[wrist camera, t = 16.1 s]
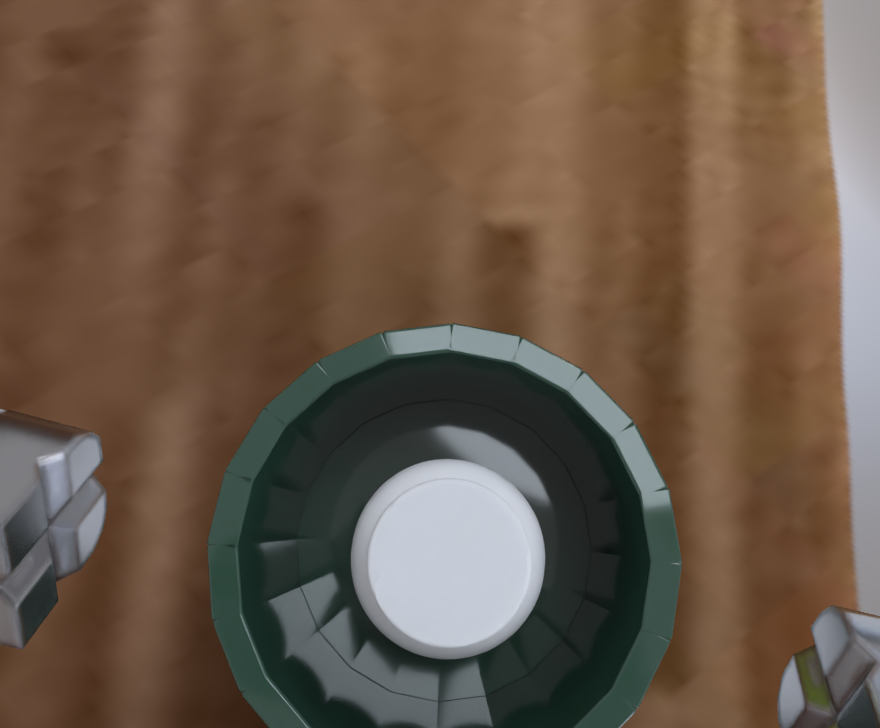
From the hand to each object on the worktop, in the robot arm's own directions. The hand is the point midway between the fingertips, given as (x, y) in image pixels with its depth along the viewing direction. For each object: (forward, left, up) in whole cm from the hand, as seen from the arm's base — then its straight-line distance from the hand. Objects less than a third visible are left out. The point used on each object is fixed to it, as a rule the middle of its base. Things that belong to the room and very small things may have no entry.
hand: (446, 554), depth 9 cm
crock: (0, 0, -21) cm, 21 cm away
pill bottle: (-1, 0, -20) cm, 20 cm away
